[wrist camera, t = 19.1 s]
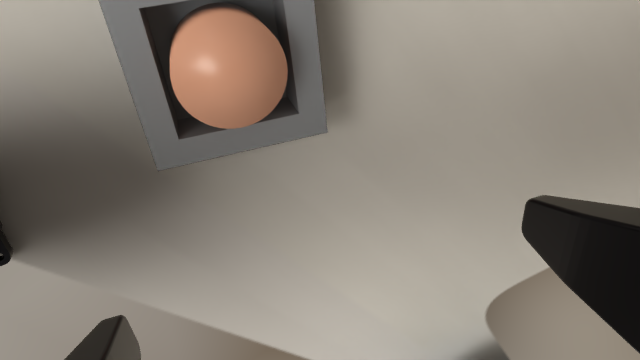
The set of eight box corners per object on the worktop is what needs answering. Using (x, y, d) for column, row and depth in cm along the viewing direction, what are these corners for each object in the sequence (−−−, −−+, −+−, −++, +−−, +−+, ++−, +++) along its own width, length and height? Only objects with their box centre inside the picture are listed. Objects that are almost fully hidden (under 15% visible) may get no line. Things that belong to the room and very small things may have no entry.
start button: (185, 115, 18) (187, 139, 16) (155, 12, 16) (154, 24, 14) (280, 95, 19) (294, 116, 17) (264, -6, 17) (278, 4, 15)
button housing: (158, 144, 19) (157, 171, 17) (100, -31, 16) (90, -24, 14) (311, 111, 21) (327, 132, 19) (291, -57, 17) (308, -54, 15)
